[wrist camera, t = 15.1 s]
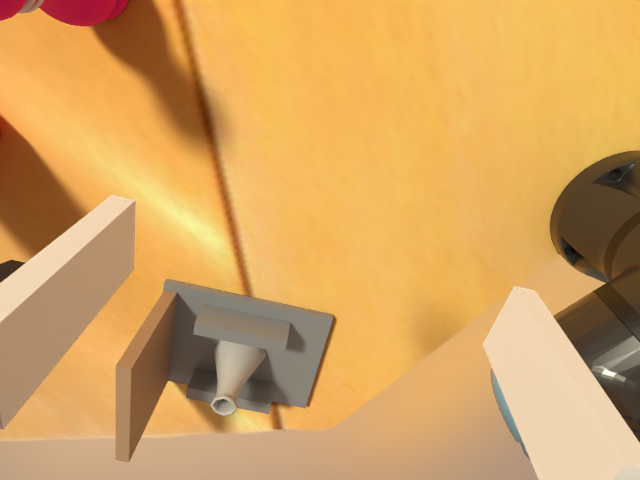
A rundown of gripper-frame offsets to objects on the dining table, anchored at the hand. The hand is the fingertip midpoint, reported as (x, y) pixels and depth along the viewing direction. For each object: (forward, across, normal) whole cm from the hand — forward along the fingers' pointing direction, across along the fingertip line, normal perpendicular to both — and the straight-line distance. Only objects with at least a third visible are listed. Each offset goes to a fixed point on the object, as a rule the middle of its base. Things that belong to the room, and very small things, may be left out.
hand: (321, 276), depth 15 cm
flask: (+34, +5, +37) cm, 50 cm away
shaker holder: (+35, +5, +37) cm, 51 cm away
